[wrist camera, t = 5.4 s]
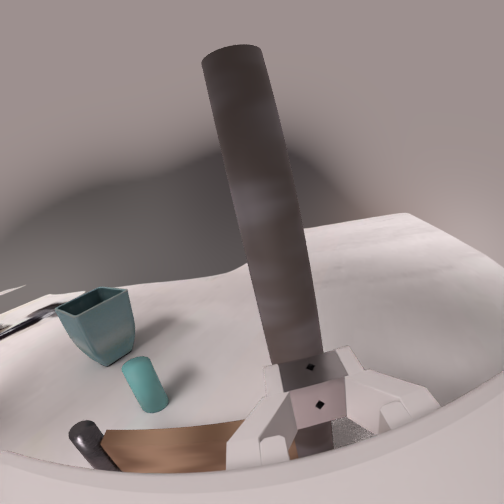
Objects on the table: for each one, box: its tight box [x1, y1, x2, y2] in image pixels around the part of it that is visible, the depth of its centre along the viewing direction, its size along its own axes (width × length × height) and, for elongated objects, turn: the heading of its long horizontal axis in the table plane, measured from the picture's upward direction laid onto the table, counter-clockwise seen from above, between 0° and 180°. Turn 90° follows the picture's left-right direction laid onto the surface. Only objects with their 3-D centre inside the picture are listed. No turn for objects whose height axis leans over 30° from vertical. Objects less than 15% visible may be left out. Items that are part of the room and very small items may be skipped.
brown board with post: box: [100, 45, 334, 473], centre depth 14 cm, size 15×3×24 cm, turn 92°
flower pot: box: [55, 287, 135, 366], centre depth 37 cm, size 9×9×9 cm
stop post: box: [122, 356, 169, 413], centre depth 26 cm, size 3×3×5 cm
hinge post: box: [69, 420, 122, 472], centre depth 16 cm, size 2×2×6 cm
